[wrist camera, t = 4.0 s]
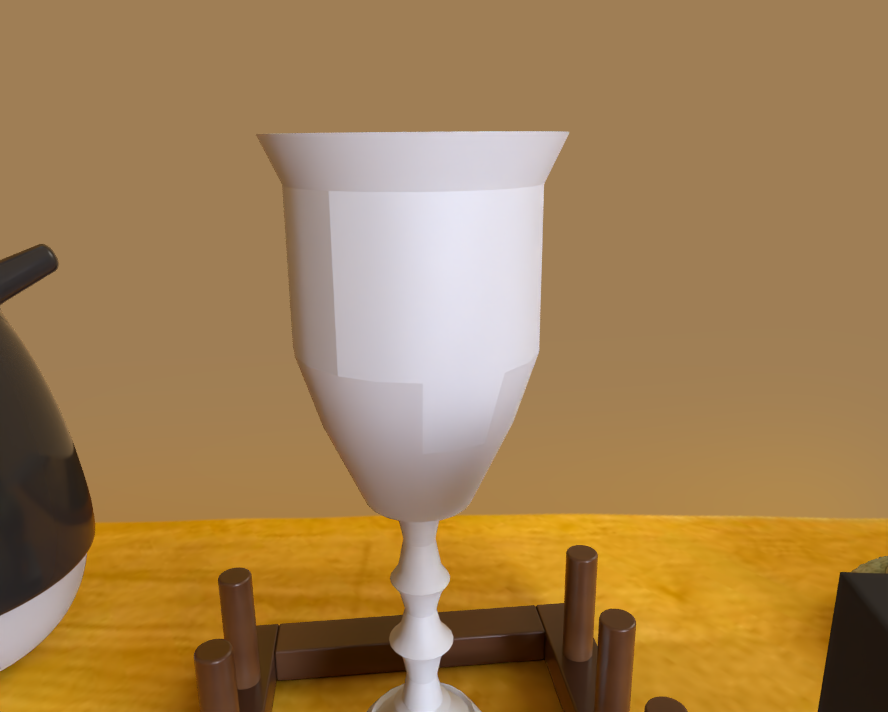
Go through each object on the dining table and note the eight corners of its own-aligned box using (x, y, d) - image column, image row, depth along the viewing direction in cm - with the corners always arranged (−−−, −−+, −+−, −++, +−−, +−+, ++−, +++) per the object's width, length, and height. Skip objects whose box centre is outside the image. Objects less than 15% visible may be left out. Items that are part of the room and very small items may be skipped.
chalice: (283, 726, 24) (234, 135, 19) (478, 670, 26) (481, 134, 21) (341, 949, 17) (290, 132, 12) (593, 846, 20) (638, 130, 15)
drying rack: (576, 628, 28) (581, 509, 27) (735, 990, 16) (760, 809, 15) (236, 654, 27) (223, 531, 26) (137, 1068, 15) (103, 878, 14)
